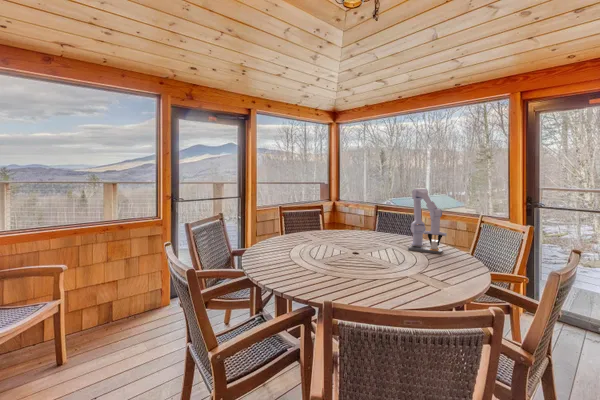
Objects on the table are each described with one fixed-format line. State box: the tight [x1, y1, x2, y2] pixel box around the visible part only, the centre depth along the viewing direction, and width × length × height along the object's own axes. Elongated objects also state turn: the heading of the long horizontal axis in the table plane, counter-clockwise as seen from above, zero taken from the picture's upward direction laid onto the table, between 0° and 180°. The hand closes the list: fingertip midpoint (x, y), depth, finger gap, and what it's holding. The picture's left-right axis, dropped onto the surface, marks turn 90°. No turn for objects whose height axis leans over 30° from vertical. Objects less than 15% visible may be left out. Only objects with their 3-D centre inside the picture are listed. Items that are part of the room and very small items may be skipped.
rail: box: [407, 244, 444, 255], centre depth 217 cm, size 8×22×2 cm, turn 60°
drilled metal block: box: [430, 239, 439, 250], centre depth 213 cm, size 4×4×7 cm
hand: (434, 245), depth 214 cm, fingers closed on drilled metal block, 4 cm apart
